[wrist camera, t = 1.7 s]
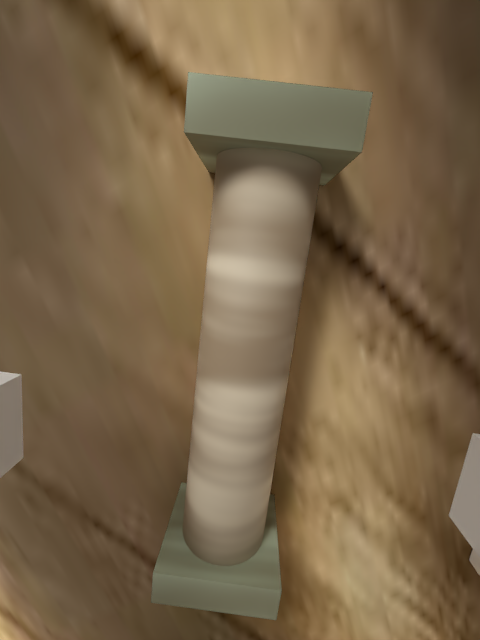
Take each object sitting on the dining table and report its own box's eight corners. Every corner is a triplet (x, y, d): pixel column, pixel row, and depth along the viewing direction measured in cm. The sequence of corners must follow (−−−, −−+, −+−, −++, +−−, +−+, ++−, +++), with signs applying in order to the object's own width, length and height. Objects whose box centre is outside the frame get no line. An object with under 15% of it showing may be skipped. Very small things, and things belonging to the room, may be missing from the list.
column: (212, 134, 15) (188, 72, 10) (330, 147, 15) (372, 92, 9) (179, 505, 19) (151, 602, 14) (270, 517, 19) (276, 620, 14)
